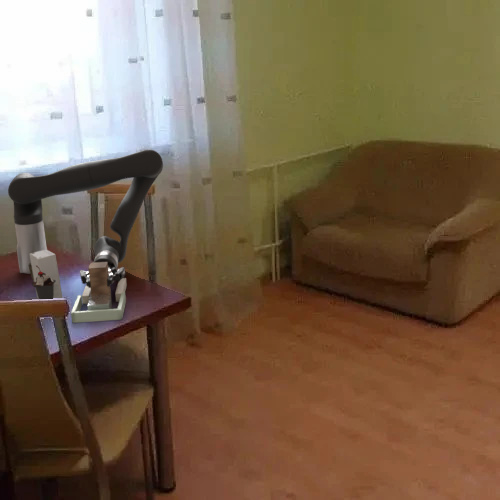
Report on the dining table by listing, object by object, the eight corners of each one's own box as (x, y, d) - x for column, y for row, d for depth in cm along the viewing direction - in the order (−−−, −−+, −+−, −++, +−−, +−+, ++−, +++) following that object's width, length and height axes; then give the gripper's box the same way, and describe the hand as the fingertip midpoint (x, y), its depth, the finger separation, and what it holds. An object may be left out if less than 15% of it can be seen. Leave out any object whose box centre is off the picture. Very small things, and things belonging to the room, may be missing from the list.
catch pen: (72, 322, 216) (70, 313, 215) (79, 304, 229) (77, 295, 228) (121, 319, 216) (120, 309, 216) (126, 301, 230) (125, 292, 229)
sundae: (38, 311, 225) (31, 263, 221) (61, 309, 226) (55, 261, 221) (34, 320, 219) (27, 270, 215) (58, 318, 220) (51, 268, 215)
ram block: (92, 306, 226) (88, 268, 223) (94, 300, 231) (90, 262, 227) (109, 305, 227) (105, 267, 223) (111, 299, 231) (107, 261, 228)
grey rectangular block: (88, 318, 219) (87, 305, 218) (90, 313, 223) (89, 300, 221) (110, 316, 219) (108, 303, 218) (111, 311, 223) (110, 298, 222)
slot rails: (82, 303, 230) (81, 296, 229) (88, 287, 243) (87, 280, 242) (122, 301, 230) (122, 293, 229) (126, 285, 244) (125, 277, 243)
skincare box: (63, 300, 233) (57, 254, 228) (44, 305, 230) (37, 258, 225) (53, 293, 240) (47, 248, 235) (35, 297, 236) (28, 252, 232)
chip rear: (89, 313, 223) (88, 300, 222) (91, 307, 227) (90, 295, 225) (110, 311, 223) (109, 298, 222) (111, 306, 227) (110, 293, 226)
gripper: (80, 255, 239) (72, 273, 223) (126, 252, 240) (122, 270, 223) (83, 277, 241) (75, 297, 225) (129, 274, 242) (124, 294, 226)
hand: (98, 283), depth 224 cm, fingers closed on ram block, 5 cm apart
